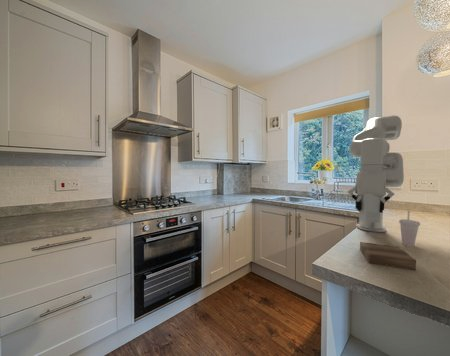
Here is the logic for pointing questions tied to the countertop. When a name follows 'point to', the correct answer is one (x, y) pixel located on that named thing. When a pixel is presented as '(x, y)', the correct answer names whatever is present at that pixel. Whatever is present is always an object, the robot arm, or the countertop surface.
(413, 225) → the smoothie
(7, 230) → the countertop surface
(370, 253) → the podium
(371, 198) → the skincare box
